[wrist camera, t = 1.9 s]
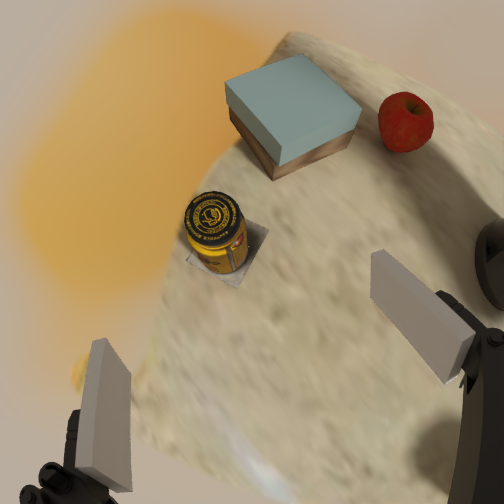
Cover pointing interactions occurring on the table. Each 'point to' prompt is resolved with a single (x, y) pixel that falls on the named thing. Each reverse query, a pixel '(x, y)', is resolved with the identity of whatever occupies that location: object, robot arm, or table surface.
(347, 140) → the tower base
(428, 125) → the apple
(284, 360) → the table surface
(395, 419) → the table surface
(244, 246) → the condiment
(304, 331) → the table surface
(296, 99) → the tower top
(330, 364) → the table surface
